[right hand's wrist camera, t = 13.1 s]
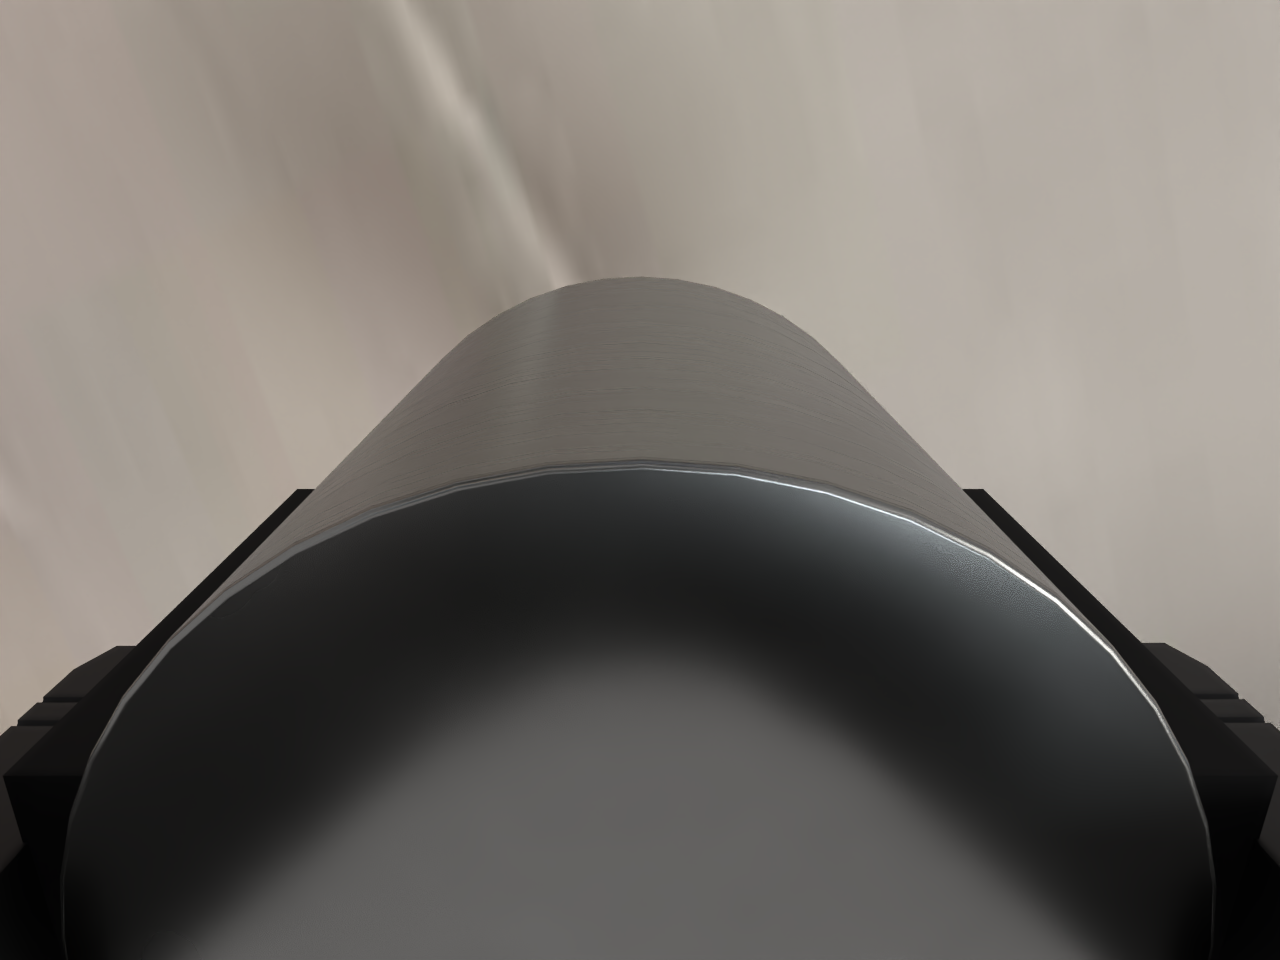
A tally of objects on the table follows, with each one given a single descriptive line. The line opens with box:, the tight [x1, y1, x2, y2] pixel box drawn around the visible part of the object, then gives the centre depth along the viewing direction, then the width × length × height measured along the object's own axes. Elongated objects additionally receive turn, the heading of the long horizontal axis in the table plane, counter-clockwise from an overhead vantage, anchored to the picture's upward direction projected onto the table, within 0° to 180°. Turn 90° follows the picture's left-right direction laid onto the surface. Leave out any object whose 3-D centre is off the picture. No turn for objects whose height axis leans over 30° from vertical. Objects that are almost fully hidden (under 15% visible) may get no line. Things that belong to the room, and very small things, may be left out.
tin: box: [60, 277, 1217, 960], centre depth 11 cm, size 9×9×9 cm
